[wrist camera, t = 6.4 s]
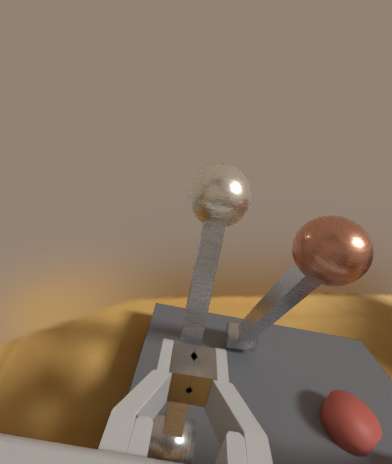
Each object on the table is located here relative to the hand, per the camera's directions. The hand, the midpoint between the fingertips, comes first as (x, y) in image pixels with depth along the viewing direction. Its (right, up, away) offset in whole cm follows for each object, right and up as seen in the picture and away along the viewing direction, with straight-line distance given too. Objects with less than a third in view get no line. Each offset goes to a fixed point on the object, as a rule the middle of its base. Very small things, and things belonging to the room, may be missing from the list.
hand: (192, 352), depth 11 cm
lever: (-1, -6, +1) cm, 7 cm away
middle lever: (+4, -3, +9) cm, 10 cm away
